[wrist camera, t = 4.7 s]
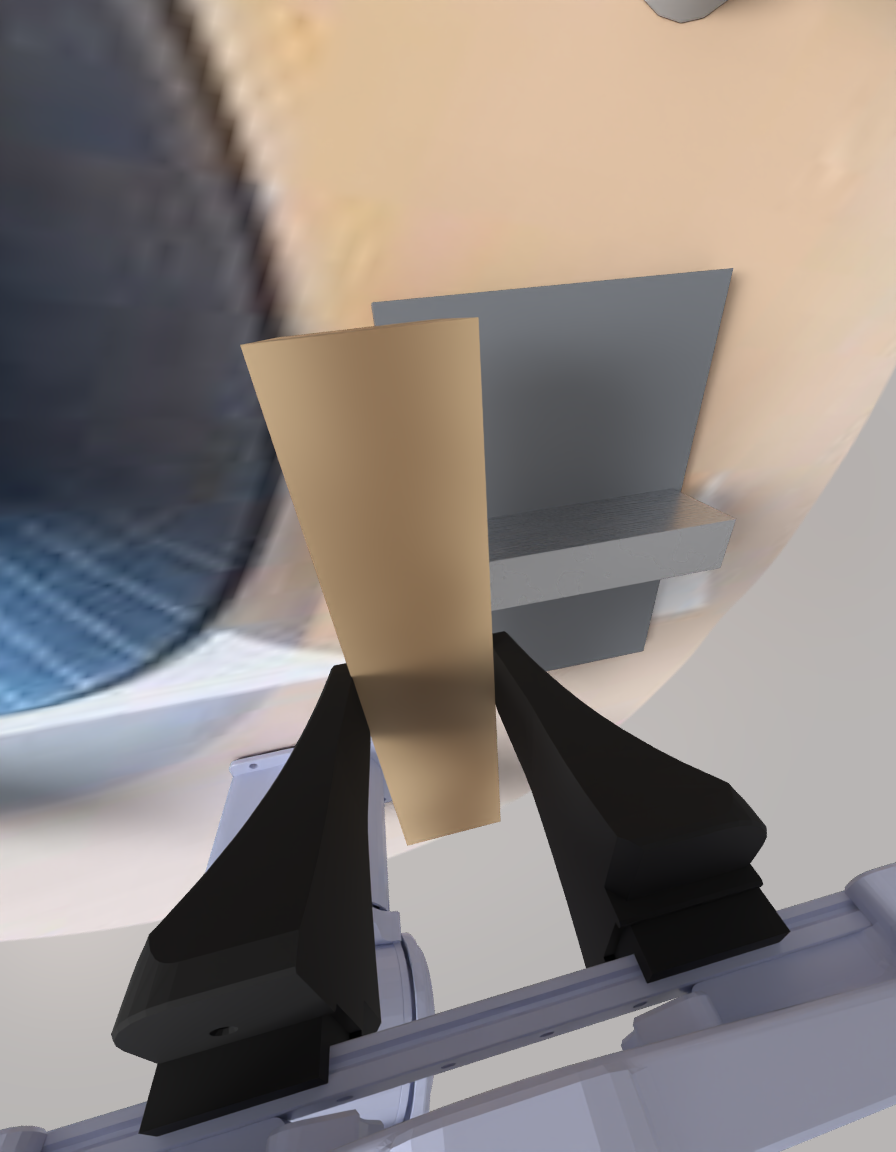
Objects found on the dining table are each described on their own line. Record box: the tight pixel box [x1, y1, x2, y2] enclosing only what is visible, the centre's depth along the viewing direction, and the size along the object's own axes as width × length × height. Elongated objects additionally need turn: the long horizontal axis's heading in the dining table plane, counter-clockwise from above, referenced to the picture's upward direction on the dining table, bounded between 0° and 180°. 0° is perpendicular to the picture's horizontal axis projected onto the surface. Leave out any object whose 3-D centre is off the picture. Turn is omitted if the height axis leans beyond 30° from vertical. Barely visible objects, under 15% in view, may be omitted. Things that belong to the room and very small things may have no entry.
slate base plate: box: [371, 268, 733, 671], centre depth 20 cm, size 14×20×1 cm
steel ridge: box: [487, 488, 736, 611], centre depth 18 cm, size 13×2×4 cm, turn 95°
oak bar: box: [240, 317, 500, 846], centre depth 13 cm, size 4×18×4 cm, turn 6°
